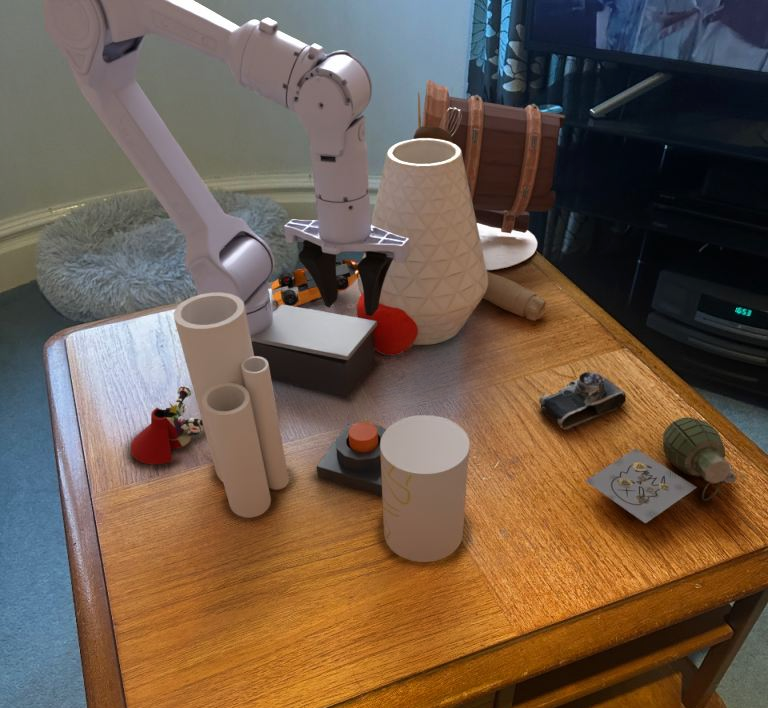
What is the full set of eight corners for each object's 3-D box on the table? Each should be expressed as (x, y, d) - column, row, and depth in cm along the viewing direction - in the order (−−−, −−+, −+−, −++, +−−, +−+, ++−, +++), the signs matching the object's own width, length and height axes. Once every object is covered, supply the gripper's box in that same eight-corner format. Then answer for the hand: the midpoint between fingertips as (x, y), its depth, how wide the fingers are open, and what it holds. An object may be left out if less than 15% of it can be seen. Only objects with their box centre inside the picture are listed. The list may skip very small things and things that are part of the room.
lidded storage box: (375, 363, 95) (373, 328, 92) (346, 399, 90) (343, 364, 86) (287, 342, 99) (282, 308, 96) (255, 375, 94) (248, 341, 90)
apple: (384, 321, 102) (382, 270, 97) (436, 340, 99) (437, 288, 93) (345, 351, 98) (341, 299, 92) (399, 372, 94) (398, 319, 88)
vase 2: (406, 281, 110) (405, 116, 93) (507, 314, 102) (525, 142, 86) (335, 333, 100) (320, 161, 84) (441, 374, 93) (447, 194, 76)
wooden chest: (409, 266, 115) (533, 277, 115) (422, 144, 94) (575, 159, 94) (416, 179, 122) (533, 190, 122) (430, 48, 101) (572, 62, 101)
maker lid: (377, 325, 91) (377, 320, 90) (348, 360, 86) (347, 356, 85) (282, 308, 96) (281, 304, 95) (248, 341, 90) (247, 336, 90)
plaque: (395, 228, 122) (395, 220, 121) (500, 209, 127) (501, 200, 126) (444, 286, 109) (445, 277, 108) (559, 262, 114) (561, 253, 113)
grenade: (687, 470, 84) (728, 515, 76) (638, 446, 82) (674, 490, 74) (724, 425, 81) (770, 467, 73) (674, 399, 79) (716, 439, 71)
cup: (380, 506, 77) (376, 418, 68) (456, 500, 77) (461, 412, 69) (387, 565, 71) (384, 477, 63) (468, 558, 72) (476, 470, 63)
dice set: (638, 460, 78) (635, 472, 79) (606, 481, 76) (603, 494, 77) (677, 485, 75) (673, 498, 76) (644, 507, 73) (641, 520, 74)
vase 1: (208, 458, 83) (165, 303, 69) (268, 440, 85) (238, 285, 71) (237, 523, 76) (195, 364, 61) (301, 501, 78) (275, 342, 63)
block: (317, 477, 80) (314, 453, 78) (349, 434, 85) (347, 411, 83) (382, 496, 78) (381, 473, 75) (411, 451, 83) (411, 428, 80)
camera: (532, 409, 88) (536, 381, 85) (599, 384, 91) (606, 356, 88) (558, 433, 84) (563, 404, 81) (627, 406, 88) (634, 377, 85)
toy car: (304, 248, 111) (310, 267, 113) (255, 291, 105) (262, 310, 108) (367, 260, 105) (371, 280, 108) (319, 306, 99) (324, 326, 102)
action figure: (228, 441, 85) (219, 404, 81) (151, 479, 81) (137, 442, 77) (192, 405, 90) (182, 368, 86) (117, 438, 86) (103, 402, 82)
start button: (344, 448, 79) (343, 436, 78) (357, 431, 81) (356, 419, 80) (370, 456, 78) (369, 443, 77) (382, 438, 80) (382, 426, 79)
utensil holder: (444, 181, 92) (465, 89, 92) (396, 172, 93) (417, 81, 92) (444, 201, 98) (464, 115, 98) (399, 193, 98) (419, 107, 98)
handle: (526, 318, 98) (438, 275, 103) (536, 333, 103) (452, 291, 109) (545, 287, 97) (456, 245, 103) (554, 303, 103) (469, 263, 108)
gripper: (263, 197, 75) (281, 312, 85) (389, 216, 71) (393, 336, 81) (296, 171, 80) (310, 284, 90) (416, 188, 75) (417, 305, 85)
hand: (351, 307), depth 85 cm, fingers open, 5 cm apart
